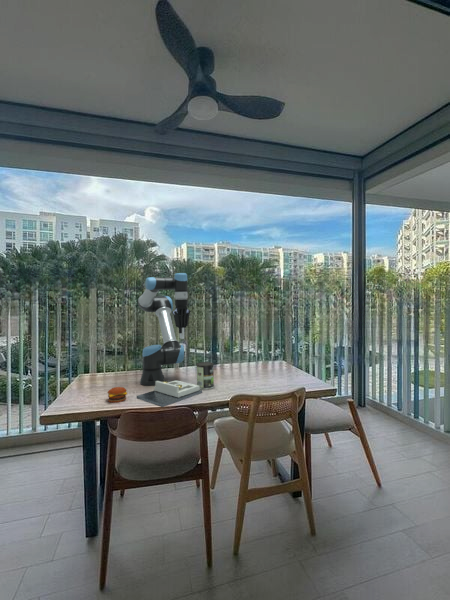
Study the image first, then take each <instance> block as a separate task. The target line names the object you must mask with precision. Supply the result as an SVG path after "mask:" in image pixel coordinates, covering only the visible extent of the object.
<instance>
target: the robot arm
mask: <svg viewBox="0 0 450 600" xmlns="http://www.w3.org/2000/svg"><path fill="white" fill-rule="evenodd" d="M144 285H145V289H144V292H143V293H142V294H141V295H139V297H138V299H137V304H138V307H139V308H140V309H141V310H142V311H144V312H147V313H155V316H157V319H158V322H159V328H160V332H161V336H162V340H163V344H162V345H161V344H151V345H148V346H145V347H143V348H142V374H141V376H140V379H139V383H140V385H142V386H146V387H147V386H149V387H150V386H155V381H160V382H162V381H166V380H165V375H164V373H163V370H162V366H163V365H164V366H165V365H167V366H168V365H173V364H174V365H175V364H176V365H177V364H180V363H182V362H183V361H184V357H185V347H184V345H183V344H180V342H179V340H178V339H177V337H176V333H175V329H174V325H173V321H172V317H171V313H172V315H173V319H174V324H175V327H176V328H178V333H179V339H181V340H184V339H185V332H186V328H187V327H188V326H189V325H188V324H189V320H190V314H191V310H190V309H188V304H189V302H188V298H189V296H188V274H187V273H186V272H179V273H178V272H176V273H174V277H159V276H158V277H157V276H151V277H150V276H149V277H146V279H145V284H144ZM160 290H161V291H163V290H165V291H169V290H170V291H171V290H172V291H174V305H173V300H172V298H171V297H170V296H168V295H157V294H158V293H159V291H160ZM174 306H175V308H174ZM173 308H174V309H173Z"/></svg>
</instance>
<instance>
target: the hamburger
mask: <svg viewBox="0 0 450 600" xmlns="http://www.w3.org/2000/svg"><path fill="white" fill-rule="evenodd" d="M106 393H107V394H108V395H107V397H108V403H113V404H114V403H115V404H117V403H121V402H125V401H126V400H127V395H128V392H127V389H126V388H124V387H122V386H115V387H112V388H110V389H108V391H107V392H106Z"/></svg>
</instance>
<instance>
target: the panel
mask: <svg viewBox="0 0 450 600" xmlns="http://www.w3.org/2000/svg"><path fill="white" fill-rule="evenodd" d="M176 385H182V388H180V391H179V386H176ZM153 386H154V387H153V388H154V390H153V391H157V392H161V393H164V394H168V395H171V396H175V397H178V398H179V397H181V396H184V395H187V394H190V393H193V392H196V391H199V390H201V389H200V386H198V385H197V384H193V383H189V382H185V381H180V380H177V379H176V380H172V381H169V382H168V383H164V382H160V381H155V385H153Z"/></svg>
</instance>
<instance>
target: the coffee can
mask: <svg viewBox="0 0 450 600" xmlns="http://www.w3.org/2000/svg"><path fill="white" fill-rule="evenodd" d="M195 365H196V385H198V386H200V390H202V391H203V390H204V389H205V390H212V389H213V388H215V384H214V383H215V382H214V381H215V380H214V379H215V377H214V376H215V375H214V372H215V371H214V362H211V361H202V362H198V363H196V364H195ZM211 388H212V389H211Z"/></svg>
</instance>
